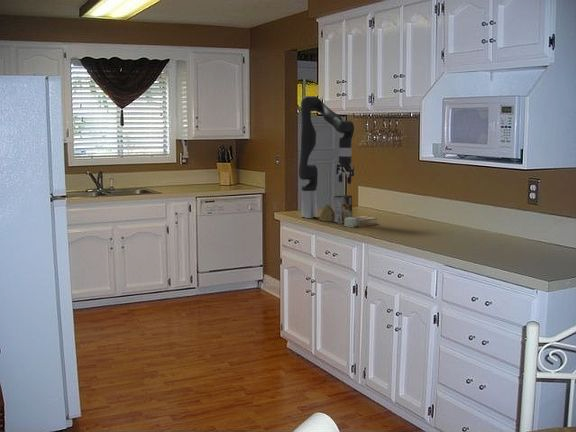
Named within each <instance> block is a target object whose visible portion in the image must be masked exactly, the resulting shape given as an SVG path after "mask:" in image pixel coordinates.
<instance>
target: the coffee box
mask: <svg viewBox="0 0 576 432" xmlns="http://www.w3.org/2000/svg"><path fill="white" fill-rule="evenodd" d="M333 199H334V205H333V206H334V207H333V208H334V210H333V211H334V213H335V221H334V223H335V222H337V223H336V224H340V223H344V218H348V217H353V195H348V194H342V195H336V196H334V197H333Z"/></svg>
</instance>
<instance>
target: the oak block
mask: <svg viewBox="0 0 576 432" xmlns="http://www.w3.org/2000/svg"><path fill="white" fill-rule="evenodd" d="M352 218H357V225H358V226H357V227H367V225H368V226H374V225H377V224H378V218H377V217H372V216H366V215H362V216H352Z"/></svg>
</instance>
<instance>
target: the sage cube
mask: <svg viewBox="0 0 576 432" xmlns="http://www.w3.org/2000/svg"><path fill="white" fill-rule="evenodd" d="M352 217H353V216H352ZM352 217H348V218H344V225H343V226H346V227H345V228H351V227H352V228H355V227H354V226H356V227H358V226H357V218H352Z"/></svg>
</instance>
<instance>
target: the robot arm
mask: <svg viewBox="0 0 576 432" xmlns="http://www.w3.org/2000/svg"><path fill="white" fill-rule="evenodd" d="M312 112H317V113H319V114H320V115H322V116H323V119H324V121H325V122H327V123H328V124H330V125H331V126H333V128H334V129H335V130H336V131H337V132H338V133H339V134H343V136H342V137H339V144H338V145H339V146H338V147H339V148H338V164H336V171H335V174H336V175H337V176H338V182H339V183H342V182H343V175H344V174H345V175H346V176H347V180H346V181H347V184H350V185H351V183H352V177H354V176H355V166H354V165H351V164H352V162H353V161H352V157H353V156H352V154H353V153H352V152H353V151H352V139H353V137H354V136H353V135H354V131H355V125H354V122H353V121H351V120H343V119H342V117H341V116H340V115H339V114H337V113H336V112H335V111H333V110H332V109H330V108H329V106H327V105H326V104H325V103H324V102H323V101H322V100H321V99H320V98H319V96H315V95H313V96H312V95H311V96H308V95H307V96H304V97H302V98H301V101H300V113H301V114H300V115H301V131H300V132H301V133H300V135H301V136H300V157H299V164H298V175H299V178H300V179H301V180H303V181H304V180H305V181H306V180H308V181H307V183H305V184H303V185H302V186H301V203H300V210H301V211H300V214H301V215H300V216H302V217H305V218H304V219H314V218H313V217H316V218H317V217H318V215H317V214H318V206H317V203H318V201H317V196H318V195H317V194H318V193H317V188H318V177H319V176H318V175H319V174H318V172H319V171H318V168H317V166H316V165H315V164H308V163H309V157H310V155H311V154H312V151H313V150H314V149H315V146H316V144H317V131H316V129H315V128H314V125H313V123H312V117H311V116H312V115H311V114H312ZM302 217H301V218H302Z"/></svg>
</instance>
